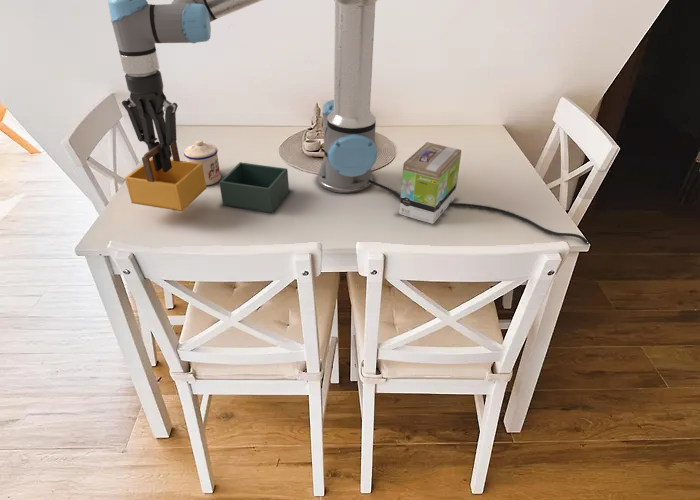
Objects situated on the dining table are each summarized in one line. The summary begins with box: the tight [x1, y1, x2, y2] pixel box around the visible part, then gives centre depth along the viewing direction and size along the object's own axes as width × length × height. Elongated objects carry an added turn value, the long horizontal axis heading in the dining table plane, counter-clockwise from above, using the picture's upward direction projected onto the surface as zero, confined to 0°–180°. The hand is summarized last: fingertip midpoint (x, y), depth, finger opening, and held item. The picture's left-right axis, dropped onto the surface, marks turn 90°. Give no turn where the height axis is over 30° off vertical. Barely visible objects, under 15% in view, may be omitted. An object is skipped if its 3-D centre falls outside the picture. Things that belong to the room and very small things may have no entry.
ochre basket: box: [124, 140, 207, 212], centre depth 131 cm, size 14×12×14 cm
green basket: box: [218, 161, 290, 214], centre depth 143 cm, size 14×12×7 cm
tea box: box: [398, 141, 462, 225], centre depth 137 cm, size 15×10×15 cm
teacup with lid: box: [183, 139, 222, 186], centre depth 152 cm, size 12×9×12 cm
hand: (163, 169), depth 131 cm, fingers closed on ochre basket
